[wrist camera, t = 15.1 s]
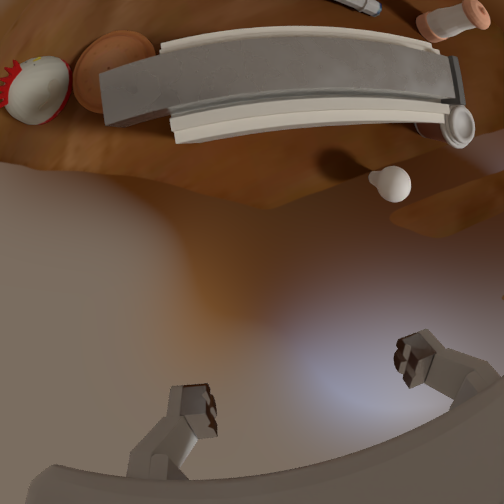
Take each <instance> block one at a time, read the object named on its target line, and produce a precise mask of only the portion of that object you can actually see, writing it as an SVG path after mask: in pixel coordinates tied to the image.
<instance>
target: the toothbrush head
mask: <svg viewBox="0 0 504 504" xmlns="http://www.w3.org/2000/svg"><path fill="white" fill-rule="evenodd" d="M335 1H338V2H341V3H343V4H346V5H348V6H351V7H353V8H355V9H356V10H357V11H359V12H361V11H362V12H364V13H367V14H369V15H371V16H373V17H375V16H377V15H379V14H380V12H381V10H382V4H381V3H379V2H378V1H376V0H335Z"/></svg>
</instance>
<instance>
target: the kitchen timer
mask: <svg viewBox="0 0 504 504" xmlns="http://www.w3.org/2000/svg"><path fill="white" fill-rule="evenodd" d="M13 64H14V66H13V68H8V67H5V68H4V69H5V70H6V71H7V72H8V73H9V76H8V77H4V78H0V80H1V81H3V82H5V83H4V85H3V86H0V91H2V93H1V94H0V99H3V101H2V102H1V103H0V108H1V107H3V106H5V108H6V110H7V111H8V112H9V113H10V114H11V116H13V117H14V118H16V119H17V120H19V121H21V122H23V123H26V124H29V125H42V124H45V123H47V122H49V121H51V120H52V119H54V118H55V117H56V116H57V115H58V114H59V113H60V112H61V111H62V110H63V108H64V106H65V105H66V103H67V101H68V99H69V96H70V93H71V91H72V84H73V76H72V71H71V68H70V66H69V64H68V63H66V62H65V61H64V60H62V59H60V58H57V57H53V56H44V57H37V58H32V59H29V60H27V61H25V62H23V63H21V64H20V65H19V63H18V62H17V61H16V60H13Z"/></svg>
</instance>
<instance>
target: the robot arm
mask: <svg viewBox="0 0 504 504" xmlns="http://www.w3.org/2000/svg"><path fill="white" fill-rule="evenodd" d="M396 346H397V348H398V349H397V351H396V352H395V353H394V365H395V367H396V369H397V371H398V372H399V373H401V374H403V380H404V381H405V383H406V385H407V386H408V387H409V389H410V388H413V387H415V386H417V385H420V384H422V383H425V384H427V385H428V386H430V387H432V388H434V389H435V390H437V391H439V392H441V393H443V394H444V395H446V396H448V397H450V398H452V399H453V400H454V401H453V403H452V405H451V406H450V409H449V411H448V412H446V413H444V414H443V415H441V416H439V417H437V418H435V419H433V420H431V421H429V422H427V423H425V424H423V425H421V426H419V427H417V428H415V429H413V430H411V431H408V432H406V433H404V434H402V435H399V436H397V437H395V438H392V439H390V440H387V441H385V442H382V443H380V444H377V445H374V446H372V447H369V448H366V449H363V450H360V451H358V452H355V453H351V454H348V455H345V456H342V457H338V458H335V459H331V460H328V461H324V462H320V463H317V464H312V465H309V466H304V467H299V468H295V469H290V470H285V471H279V472H274V473H268V474H261V475H255V476H246V477H237V478H225V479H211V480H189V479H188V478H187V477H186V476H185V475H184V474H183V473H182V472H181V470H180V469H179V468H180V466H181V465H182V463H183V462H184V460H185V459H186V457H187V456H188V454H189V453H190V451H191V450H192V448H193V447H194V445H195V444H196V442H197V441H198V440H197V439H202V438H213V437H217V436H218V435H217V423H216V421H215V418H216V416H217V409H216V403H215V399H214V396H213V395H212V394H210V387H209V384H208V383H204V384H193V385H181V386H172V387H171V389H170V395H169V402H168V410H167V417H163V418H162V419H161V420H160V421H159V422H158V423H157V424H156V425H155V427H154V428H153V429H152V430H151V431H150V432H149V433H148V434H147V435H146V436H145V437H144V438H143V440H141V441H140V442H139V444H138V445H137V446H136V447H135V448H134V449H133V450H132V451H131V452H130V458H129V463H128V469H127V476H126V477H122V476H114V475H107V474H101V473H95V472H89V471H84V470H79V469H75V468H70V467H66V466H62V465H51V466H49V467H48V468H46V469H45V470H44V471H43V472H41V473H40V474H39V475H38V476H36V477H35V478H34V479H33V480H32V482H31V484H30V486H29V489H28V493H27V497H26V503H25V504H504V375H503V376H502V377H501V376H500V375H499V374H498V373H497V372H496V371H495V370H494V368H493V367H492V366H491V365H490V364H489V363H488V362H487V361H484V360H481V359H478V358H475V357H472V356H469V355H467V354H464V353H461V352H458V351H455V350H452V349H449V348H447V349H445V347H444V346H443V345H442V344H441V343H440V342H439V341H438V340H437V339H436V338H435V336H434V335H433V334H432V333H431V332H430V331H429V330H428V329H424V330H421V331H419V332H417V333H413V334H411V335H408V336H405V337H403V338H400V339H398V341H397V344H396Z"/></svg>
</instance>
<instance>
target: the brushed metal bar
mask: <svg viewBox="0 0 504 504" xmlns="http://www.w3.org/2000/svg"><path fill="white" fill-rule="evenodd" d="M99 81H100V90H101V99H102V107H103V114H104V121H105V126H115V127H127V126H130V125H133V124H137V123H140V122H144V121H148V120H152V119H155V118H159V117H163V116H167V115H172V114H176V113H181V112H185V111H190V110H195V109H200V108H205V107H211V106H216V105H222V104H228V103H235V102H242V101H250V100H258V99H267V98H278V97H290V96H306V95H381V96H396V97H408V98H418V99H426V100H433V99H450V98H455V92H454V86H453V80H452V74H451V69H450V64H449V59H448V57H446V56H443V55H439V54H435V53H431V52H427V51H423V50H419V49H414V48H410V47H405V46H399V45H394V44H388V43H381V42H374V41H366V40H357V39H346V38H331V37H272V38H257V39H245V40H236V41H228V42H221V43H214V44H208V45H202V46H197V47H191V48H186V49H182V50H177V51H173V52H168V53H164V54H160V55H157V56H153V57H149V58H146V59H142V60H139V61H135V62H132V63H129V64H126V65H123V66H120V67H117V68H114V69H111V70H109V71H106V72H103V73H100V74H99Z"/></svg>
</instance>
